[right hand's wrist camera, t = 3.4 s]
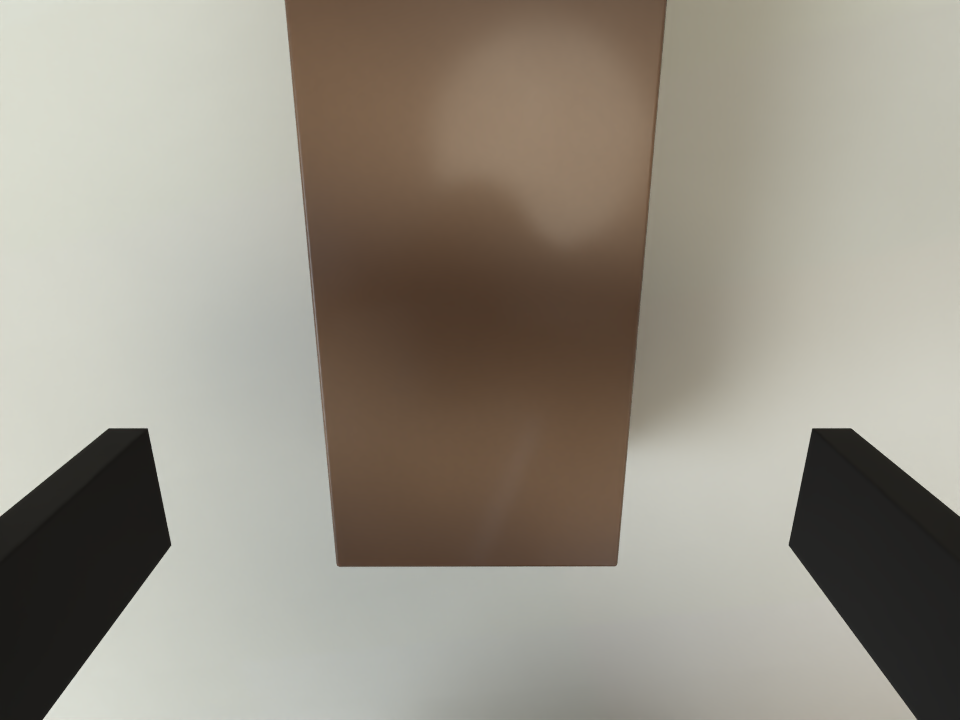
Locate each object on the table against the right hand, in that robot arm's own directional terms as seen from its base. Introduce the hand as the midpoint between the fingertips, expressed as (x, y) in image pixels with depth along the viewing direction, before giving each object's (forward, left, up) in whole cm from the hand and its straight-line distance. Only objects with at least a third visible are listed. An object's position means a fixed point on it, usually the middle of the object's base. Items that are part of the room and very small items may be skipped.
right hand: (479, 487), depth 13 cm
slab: (+14, +16, -12) cm, 24 cm away
